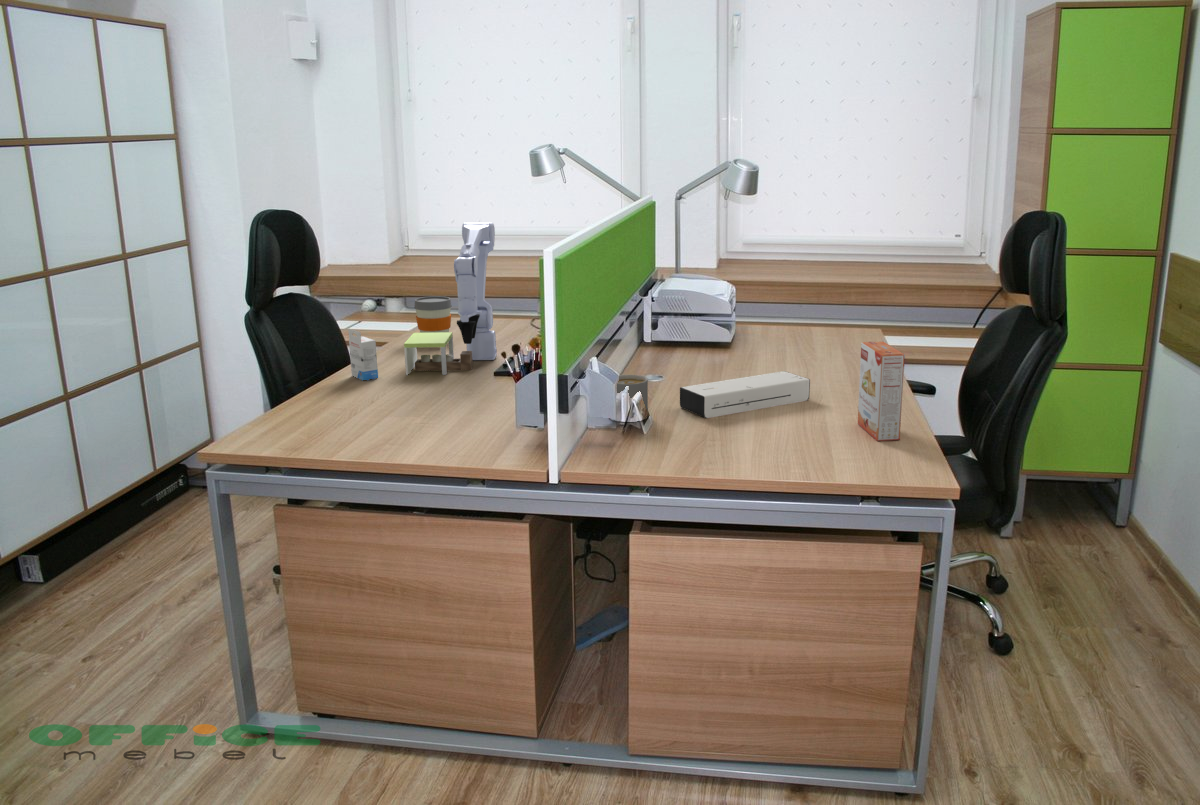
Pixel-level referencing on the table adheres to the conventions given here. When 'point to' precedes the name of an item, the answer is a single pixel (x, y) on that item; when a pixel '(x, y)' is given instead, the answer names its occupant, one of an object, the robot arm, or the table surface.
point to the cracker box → (881, 390)
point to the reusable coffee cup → (433, 314)
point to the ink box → (362, 356)
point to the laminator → (744, 394)
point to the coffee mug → (634, 386)
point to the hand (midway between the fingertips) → (469, 340)
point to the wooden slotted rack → (451, 364)
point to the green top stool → (427, 341)
